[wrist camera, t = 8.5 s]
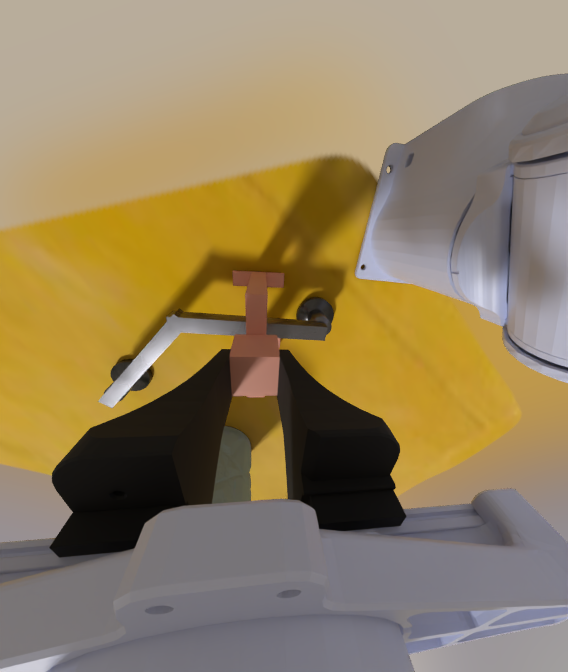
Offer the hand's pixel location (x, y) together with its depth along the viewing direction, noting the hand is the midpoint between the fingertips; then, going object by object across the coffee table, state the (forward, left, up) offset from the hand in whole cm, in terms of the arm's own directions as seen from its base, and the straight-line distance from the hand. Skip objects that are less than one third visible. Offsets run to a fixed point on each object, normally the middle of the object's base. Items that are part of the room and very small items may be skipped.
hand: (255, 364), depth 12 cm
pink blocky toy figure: (0, 0, -9) cm, 9 cm away
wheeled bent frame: (+4, -4, -9) cm, 11 cm away
